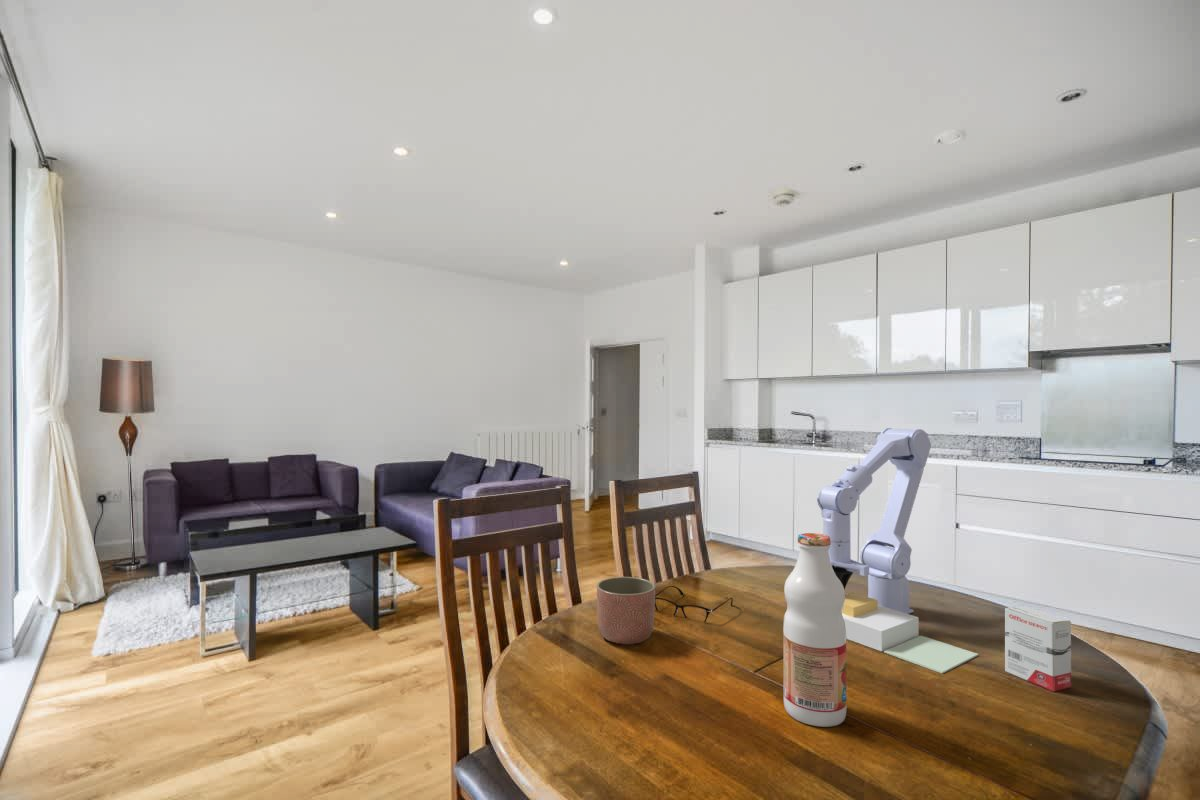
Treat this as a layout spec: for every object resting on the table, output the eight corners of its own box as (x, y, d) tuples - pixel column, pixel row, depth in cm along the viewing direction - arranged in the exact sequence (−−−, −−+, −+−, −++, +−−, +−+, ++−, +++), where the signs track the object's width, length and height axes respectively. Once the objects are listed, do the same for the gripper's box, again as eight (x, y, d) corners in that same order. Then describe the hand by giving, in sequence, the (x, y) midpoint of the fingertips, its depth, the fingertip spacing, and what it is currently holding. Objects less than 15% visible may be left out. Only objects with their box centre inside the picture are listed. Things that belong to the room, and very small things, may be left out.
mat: (921, 636, 123) (921, 635, 123) (978, 655, 113) (978, 653, 113) (884, 652, 115) (884, 650, 115) (942, 673, 106) (942, 672, 106)
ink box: (1072, 687, 100) (1072, 619, 101) (1053, 692, 99) (1053, 622, 99) (1022, 667, 109) (1021, 603, 109) (1003, 671, 107) (1003, 606, 107)
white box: (827, 606, 141) (827, 589, 141) (918, 636, 123) (918, 617, 123) (789, 617, 134) (789, 600, 134) (881, 651, 115) (881, 631, 115)
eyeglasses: (647, 612, 138) (647, 595, 138) (678, 595, 151) (678, 579, 151) (712, 627, 129) (712, 609, 129) (738, 607, 142) (738, 591, 142)
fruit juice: (772, 701, 96) (772, 531, 96) (823, 694, 98) (822, 528, 98) (804, 732, 87) (804, 544, 87) (859, 724, 89) (859, 541, 89)
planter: (587, 643, 119) (587, 590, 119) (609, 622, 130) (609, 574, 131) (645, 653, 114) (645, 597, 114) (662, 630, 126) (662, 580, 126)
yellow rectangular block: (852, 601, 133) (852, 592, 133) (877, 609, 128) (877, 599, 128) (828, 609, 128) (828, 599, 128) (853, 617, 123) (853, 607, 123)
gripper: (798, 535, 135) (798, 594, 135) (855, 548, 123) (856, 612, 123) (817, 532, 139) (817, 589, 139) (874, 544, 127) (875, 606, 127)
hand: (836, 599), depth 131 cm, fingers closed
